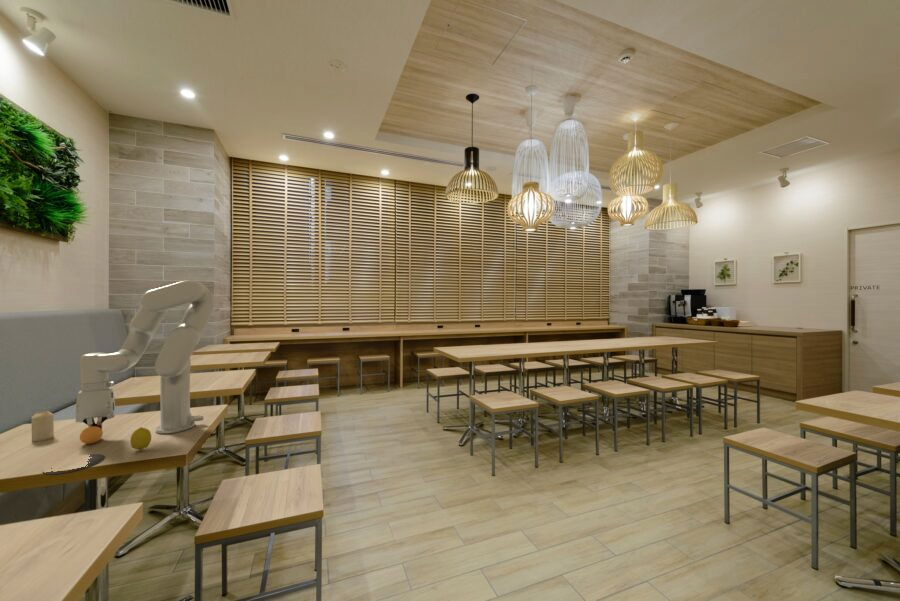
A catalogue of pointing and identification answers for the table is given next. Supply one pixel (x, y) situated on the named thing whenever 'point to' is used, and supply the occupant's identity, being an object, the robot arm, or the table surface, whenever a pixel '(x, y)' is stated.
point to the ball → (91, 435)
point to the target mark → (93, 461)
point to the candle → (42, 426)
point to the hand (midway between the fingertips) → (95, 435)
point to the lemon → (140, 438)
